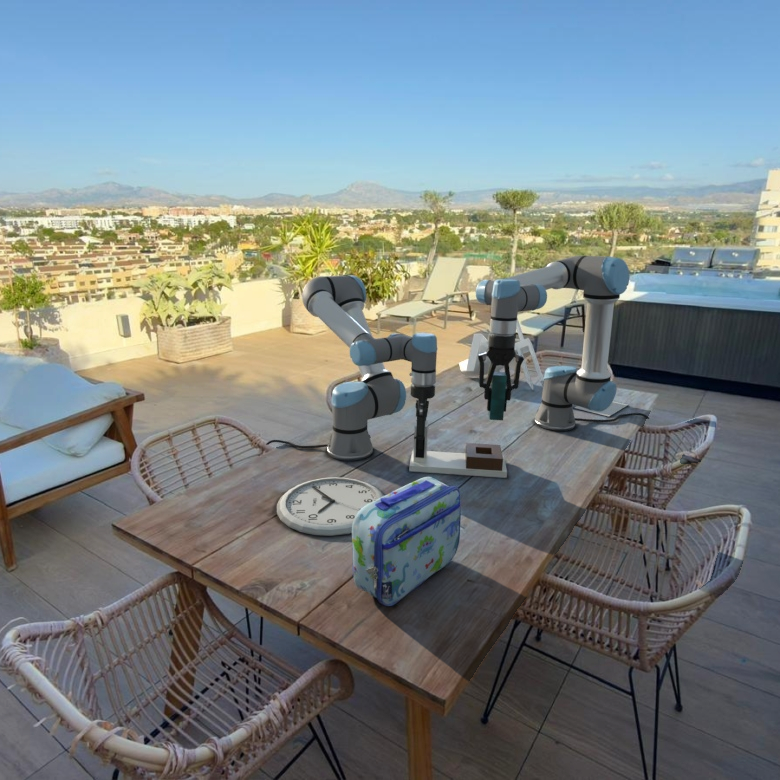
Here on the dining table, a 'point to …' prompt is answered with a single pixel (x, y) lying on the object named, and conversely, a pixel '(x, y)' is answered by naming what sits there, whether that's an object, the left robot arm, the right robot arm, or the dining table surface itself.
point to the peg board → (460, 460)
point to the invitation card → (609, 411)
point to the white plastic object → (480, 347)
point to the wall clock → (325, 505)
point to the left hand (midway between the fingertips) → (420, 452)
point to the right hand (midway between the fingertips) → (496, 409)
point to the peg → (498, 396)
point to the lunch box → (405, 538)
